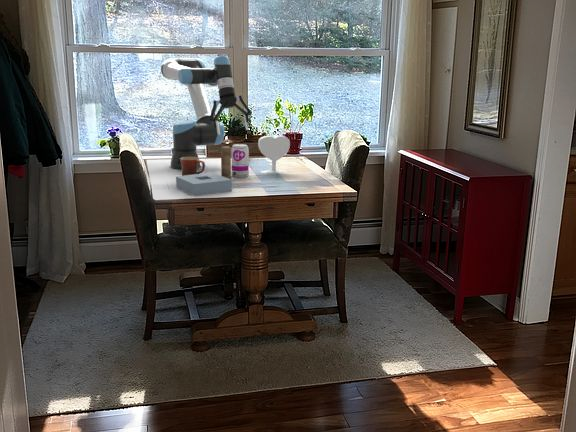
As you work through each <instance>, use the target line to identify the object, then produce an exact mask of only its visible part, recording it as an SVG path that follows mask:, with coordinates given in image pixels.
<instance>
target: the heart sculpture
mask: <svg viewBox="0 0 576 432" xmlns="http://www.w3.org/2000/svg"><path fill="white" fill-rule="evenodd" d="M257 145H258V150H259V151H260V152H261V154H262V155H263V156H265V158H267V159H269V160H270V161H271V169H267V170H261V171H260V173H261V174H269V173H270V174H272V173H273V174H274V173H287V171H288V170H283V169H277V161H278V160H280V159H282V158H284V156H286V155H287V153H288V151H289V150H290V146H291V141H290V139H289V138H288V137H287V136H284V135H276V136H271V135H264V136H261V137H260V138H258V142H257Z"/></svg>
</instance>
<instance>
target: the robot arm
mask: <svg viewBox="0 0 576 432" xmlns="http://www.w3.org/2000/svg"><path fill="white" fill-rule="evenodd" d="M213 65H214V66H213V67H212V68H210V67H209V68H207V66H206V65H205V63H204V61H203V60H202V59H201V58H196V57H191V58H189V57H188V58H187V57H171V58H168V59H166V60H165V61H163V63H162V64H161V66H160V72H161V75H162V76H163V77H164V78H165V79H168V80H171V81H179V83H180V84H181V85H184V86H185V87H187V90H188V92H189V96H190V99H191V103H192V105H193V111H194V113H195V117H196V119H197V120H194V119H190V120H180V121H177V122H175V123H174V124H173V125H172V137H173V138H172V139H173V140H172V141H173V143H172V145H173V154H172V155H171V156H172V157H171V161H170V168H172V169H177V170H182V164H181V161H180V158H182V157H198V158H199V155H198V152H197V147H198V146H216V145H220V144H222V143H223V141H224V138H225V125H224V123H223V122H222V121H218V120H219V118H220V117H221V115H222V113H223V111H224V110H225V109H230V108H231V109H232V108H234V107H235V108H236V109H237V110H238V111H240V112H241V113H242V114H243V119H244V121H243V122H244V127H245V130H246V131H248V130H249V127H248V126H249V125H248V123H250V118H249V116H250V115H252V111H251V110H250V108H249V107H248V105H247V104H246V102H245V101H244V98H243V96H242V95H238V96H237V97H236V93H235V92H236V91H235V88H234V87H235V86H234V85H235V84H234V80H233V73H232V66H231V61H230V58H229V57H228V56H227V55H219V56H216V57H215V58H213ZM205 85H209V86H211V87H217V89H218V95H219V100H215V99H214V100H213V101H212V102H213V105H212V108H211V104H210V101H209V97H208V95H207V92H206V88H205ZM237 101H238V102H240V103H241V104H242V105H243V107H244V108H245V110H246V111H247V112H246V111H245V110H244V109H243V108H242V107H241V106H239V105H238V104H237ZM219 105H220V106H219ZM218 106H219V108H218ZM217 109H218V110H217ZM200 167H201V162H199V163H198V168H200Z"/></svg>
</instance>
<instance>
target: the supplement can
mask: <svg viewBox="0 0 576 432" xmlns="http://www.w3.org/2000/svg"><path fill="white" fill-rule="evenodd" d="M249 155H250V151H249V146H248V145H247V144H244V143H237V144H236V143H235V144H232V147H231V176H232V177H234V178H246V177H248V176H249V175H250V173H249V171H250V167H249V166H250V164H249V162H250V161H249V159H250V158H249V157H250V156H249Z"/></svg>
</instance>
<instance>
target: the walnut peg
mask: <svg viewBox="0 0 576 432" xmlns="http://www.w3.org/2000/svg"><path fill="white" fill-rule="evenodd" d="M231 148H232V147H230V146H220V160H221V161H220V162H221V163H220V164H221V165H220V166H221V167H220V169H221V171H220V175H221V176H223V177H226V178H229V179H231V180H232V159H231Z"/></svg>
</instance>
